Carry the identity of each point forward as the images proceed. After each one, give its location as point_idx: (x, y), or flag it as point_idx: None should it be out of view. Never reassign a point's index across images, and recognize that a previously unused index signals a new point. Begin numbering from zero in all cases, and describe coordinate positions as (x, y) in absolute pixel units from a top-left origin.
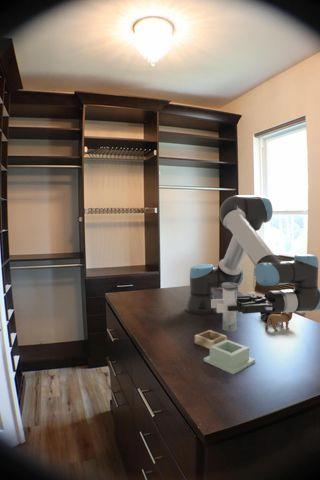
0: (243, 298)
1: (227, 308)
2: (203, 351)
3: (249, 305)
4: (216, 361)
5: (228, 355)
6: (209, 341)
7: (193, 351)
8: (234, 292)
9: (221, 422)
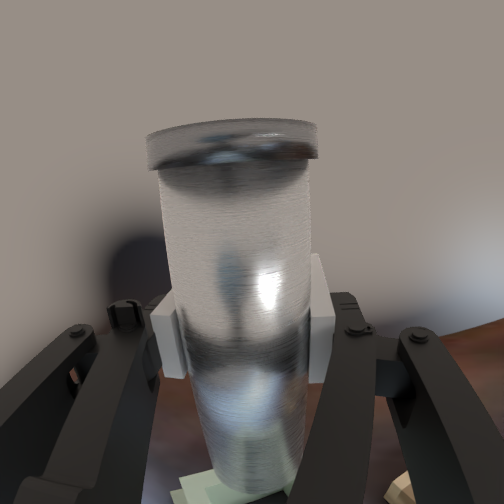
0: (325, 444)
1: None
2: (374, 469)
3: (43, 358)
4: None
5: (197, 475)
6: (402, 474)
7: (376, 441)
8: (162, 211)
9: None
